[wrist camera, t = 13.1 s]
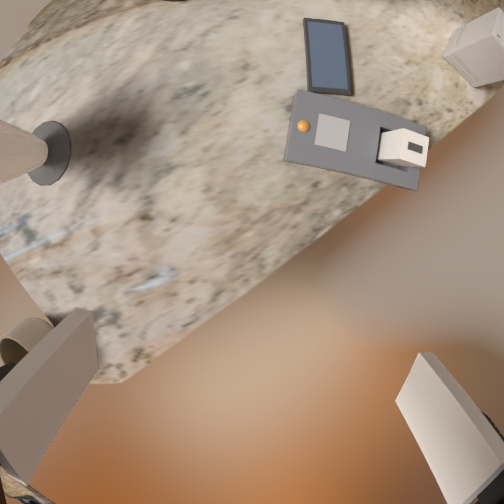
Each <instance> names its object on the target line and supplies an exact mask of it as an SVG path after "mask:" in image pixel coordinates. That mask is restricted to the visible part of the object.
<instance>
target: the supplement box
mask: <svg viewBox="0 0 504 504" xmlns="http://www.w3.org/2000/svg"><path fill="white" fill-rule="evenodd" d="M443 57H444V58H445V59H446V60H447V61H448V62H449V63H450V64H451V65H452V66H453V67H454V68H455V69H456V70H457V71H458V72H459V73H460V74H461V75H462V76H463V77H464V78H465V79H466V80H467V81H468V82H469V83H470V84H471V85H472V86H473V87H474V88H475V87H479V86H482V85H486V84H490V83H494V82H499V81H503V80H504V12H503V11H502V10H501V9H500V8H499V7H498V8H496V9H494V10H492V11H490V12H488V13H486V14H484V15H482V16H480V17H478V18H477V19H475V20H473V21H471V22H469V23H467V24H465V25H464V26H462V27H460V28H458V29H456V30H455V31H453V33H452V36H451V38H450V40H449V43H448V45H447V47H446V50H445V52H444V54H443Z"/></svg>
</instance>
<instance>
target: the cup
mask: <svg viewBox="0 0 504 504" xmlns="http://www.w3.org/2000/svg"><path fill="white" fill-rule="evenodd" d="M70 145H71V144H70V140H69V136H68V132H67V131H66V130H65V128H64V127H63V126H62V125H61V124H59V123H57V122H54V121H49V122H44V123H42V124H41V125H40V126H38V127H37V128H36V129H35V130H34V131H33V133H30V132H28V131H25V130H23V129H21V128H19V127H17V126H15V125H12V124H9V123H7V122H4V121H1V120H0V184H2V183H5V182H7V181H9V180H11V179H14V178H16V177H19V176H21V175H23V174H25V173H28V175H29V176H30V178H31V179H32V181H33V182H35V183H37V184H39V185H41V186H42V185H51V184H52V183H54V182H55V181H57V180H58V179H59V178H60V177H61V175H62V174H63V173H64V171H65V170H66V167H67V164H68V161H69V158H70Z"/></svg>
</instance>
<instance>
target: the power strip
mask: <svg viewBox="0 0 504 504" xmlns="http://www.w3.org/2000/svg"><path fill="white" fill-rule="evenodd" d="M402 128H405V129H408V130H410V131H413V132H416V133H419V134H421V135H424V136H425V133H426V127H424V126H421V125H419V124H416V123H414V122H411V121H408V120H405V119H403V118H400V117H397V116H394V115H391V114H388V113H385V112H382V111H379V110H376V109H373V108H369V107H366V106H363V105H359V104H356V103H352V102H349V101H345V100H341V99H337V98H333V97H329V96H325V95H321V94H317V93H312V92H308V91H303V90H297V92H296V93H295V95H294V97H293V104H292V110H291V116H290V123H289V129H288V135H287V141H286V148H285V154H284V160H283V161H285V162H291V163H296V164H301V165H307V166H312V167H317V168H322V169H326V170H331V171H336V172H340V173H344V174H349V175H353V176H357V177H362V178H366V179H370V180H374V181H378V182H381V183H385V184H389V185H393V186H397V187H400V188H404V189H409V190H414V191H417V189H418V183H419V176H420V170H421V167H406V166H393V165H389V164H386V163H382V162H379V161H376V155H377V148H378V141H379V134H380V133H384V132H389V131H393V130H397V129H402Z"/></svg>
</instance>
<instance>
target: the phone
mask: <svg viewBox="0 0 504 504" xmlns="http://www.w3.org/2000/svg"><path fill="white" fill-rule="evenodd" d="M303 26H304V39H305V52H306V67H307V86H308V92H312V93H322V94H334V95H345V96H350V95H351V84H350V71H349V60H348V50H347V41H346V33H345V26H344V22H337V21H330V20H321V19H311V18H304V19H303Z"/></svg>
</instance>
